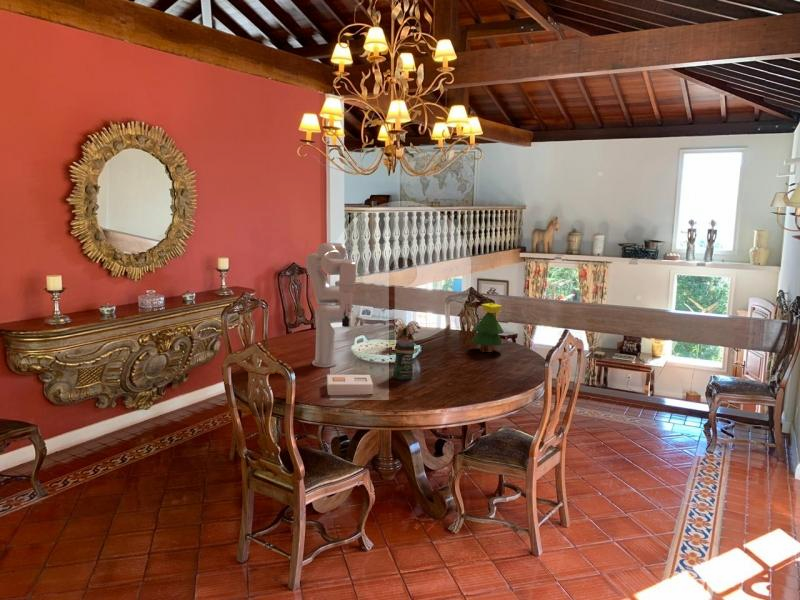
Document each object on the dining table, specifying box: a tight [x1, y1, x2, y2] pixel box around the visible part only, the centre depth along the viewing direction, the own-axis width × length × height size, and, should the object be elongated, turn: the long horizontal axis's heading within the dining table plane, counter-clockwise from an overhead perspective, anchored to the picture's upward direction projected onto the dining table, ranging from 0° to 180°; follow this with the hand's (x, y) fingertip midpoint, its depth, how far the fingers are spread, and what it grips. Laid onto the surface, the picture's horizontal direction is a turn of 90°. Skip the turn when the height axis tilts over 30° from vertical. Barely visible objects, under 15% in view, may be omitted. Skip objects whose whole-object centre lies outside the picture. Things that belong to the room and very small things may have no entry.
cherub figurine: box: [394, 318, 422, 353], centre depth 349 cm, size 18×18×18 cm
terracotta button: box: [333, 377, 345, 381], centre depth 272 cm, size 5×5×3 cm
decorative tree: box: [470, 301, 505, 353], centre depth 352 cm, size 19×19×30 cm
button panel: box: [326, 374, 374, 396], centre depth 273 cm, size 14×20×5 cm
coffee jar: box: [392, 340, 415, 381], centre depth 294 cm, size 10×8×19 cm
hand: (345, 326), depth 280 cm, fingers closed
